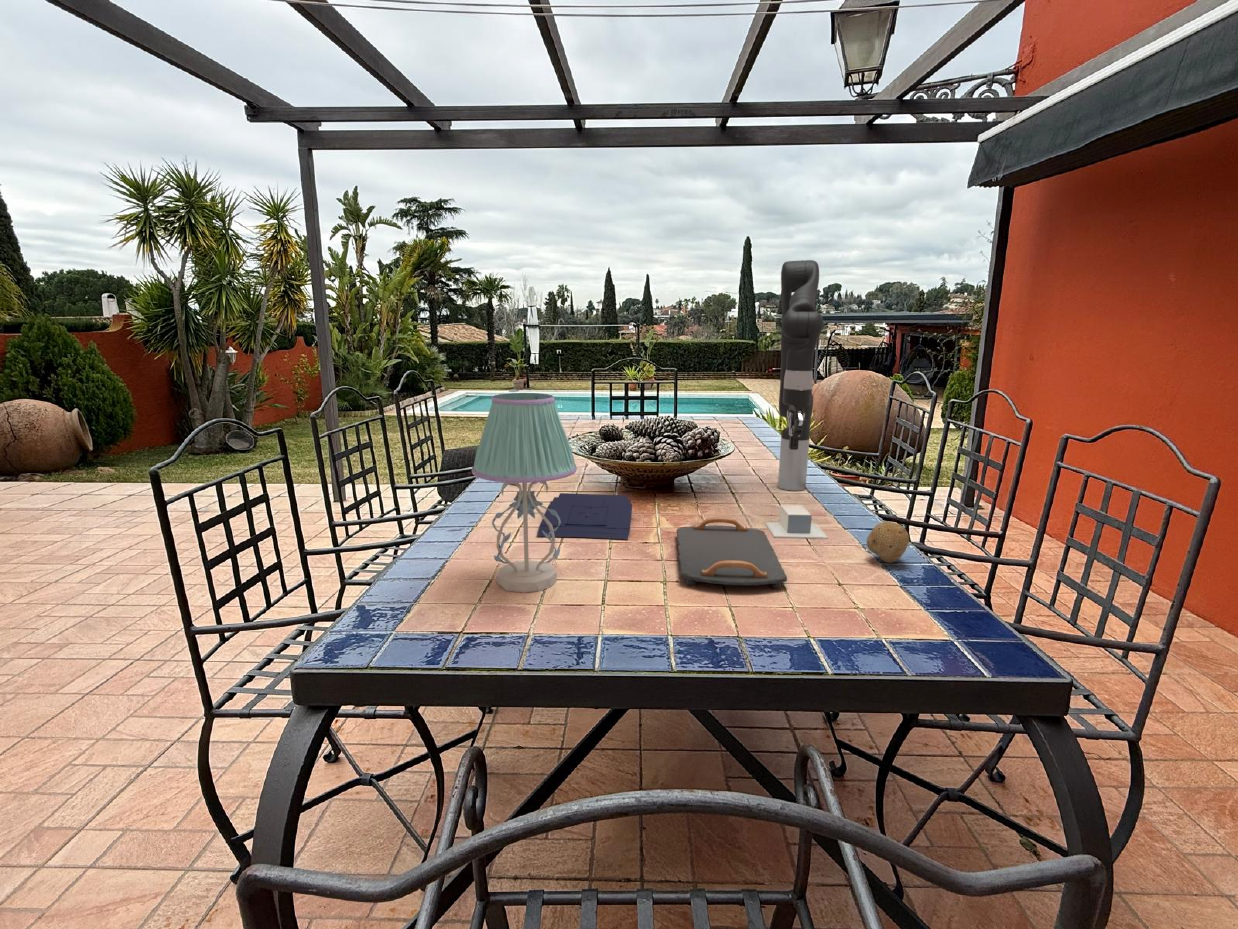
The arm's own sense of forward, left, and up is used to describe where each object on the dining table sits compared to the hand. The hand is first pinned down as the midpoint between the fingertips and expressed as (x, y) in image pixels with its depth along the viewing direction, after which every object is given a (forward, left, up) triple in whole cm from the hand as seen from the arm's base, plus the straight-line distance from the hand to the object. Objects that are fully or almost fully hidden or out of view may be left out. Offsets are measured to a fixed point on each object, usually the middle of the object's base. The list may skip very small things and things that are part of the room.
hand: (793, 449), depth 179 cm
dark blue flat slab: (+4, -57, -21) cm, 61 cm away
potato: (+31, +16, -21) cm, 41 cm away
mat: (+9, 0, -21) cm, 23 cm away
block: (+2, 0, -18) cm, 18 cm away
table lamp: (+47, -67, -21) cm, 85 cm away
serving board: (+32, -22, -22) cm, 44 cm away
